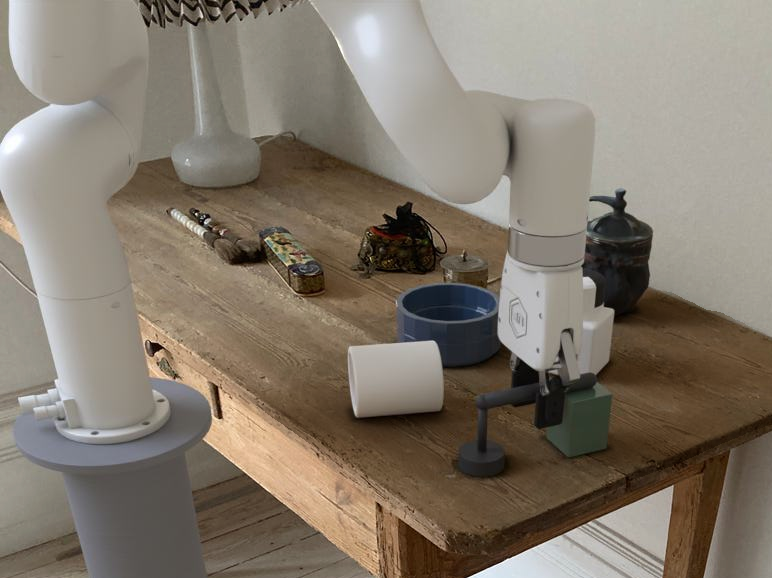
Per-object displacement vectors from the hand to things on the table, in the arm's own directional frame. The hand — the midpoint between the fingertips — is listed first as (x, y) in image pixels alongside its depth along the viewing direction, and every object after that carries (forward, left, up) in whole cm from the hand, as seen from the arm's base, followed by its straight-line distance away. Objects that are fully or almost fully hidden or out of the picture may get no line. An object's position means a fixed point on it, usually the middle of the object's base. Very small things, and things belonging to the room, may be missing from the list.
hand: (536, 413), depth 111 cm
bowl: (+3, +30, -5) cm, 30 cm away
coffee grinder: (+27, +32, -5) cm, 42 cm away
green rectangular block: (+5, 0, -5) cm, 7 cm away
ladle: (-1, 0, -5) cm, 5 cm away
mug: (-10, +18, -5) cm, 21 cm away
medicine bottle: (+15, +18, -5) cm, 24 cm away
